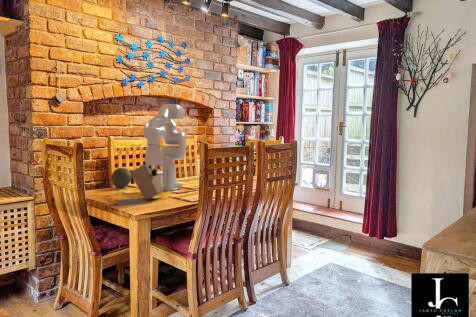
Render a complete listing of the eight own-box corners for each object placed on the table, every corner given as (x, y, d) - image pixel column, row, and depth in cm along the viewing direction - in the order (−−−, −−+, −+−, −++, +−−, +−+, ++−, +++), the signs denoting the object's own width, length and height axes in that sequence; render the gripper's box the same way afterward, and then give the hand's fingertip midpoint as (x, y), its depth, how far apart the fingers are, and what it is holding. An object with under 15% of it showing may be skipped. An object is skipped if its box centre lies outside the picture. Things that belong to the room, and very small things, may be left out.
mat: (143, 198, 231) (143, 197, 231) (147, 202, 218) (147, 202, 218) (116, 200, 224) (116, 199, 224) (117, 205, 211) (117, 204, 211)
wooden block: (157, 193, 221) (142, 164, 221) (145, 200, 223) (129, 172, 224) (164, 190, 231) (149, 163, 231) (152, 197, 233) (137, 170, 233)
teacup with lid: (165, 182, 287) (164, 168, 286) (163, 184, 278) (163, 170, 277) (149, 183, 286) (149, 168, 285) (148, 185, 277) (147, 170, 276)
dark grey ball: (121, 190, 256) (120, 169, 254) (107, 188, 262) (106, 168, 261) (135, 187, 268) (135, 167, 267) (122, 185, 275) (121, 166, 273)
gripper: (164, 146, 229) (164, 174, 231) (140, 147, 223) (141, 176, 225) (166, 147, 222) (167, 176, 224) (142, 147, 216) (142, 177, 218)
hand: (154, 176), depth 225 cm, fingers closed
